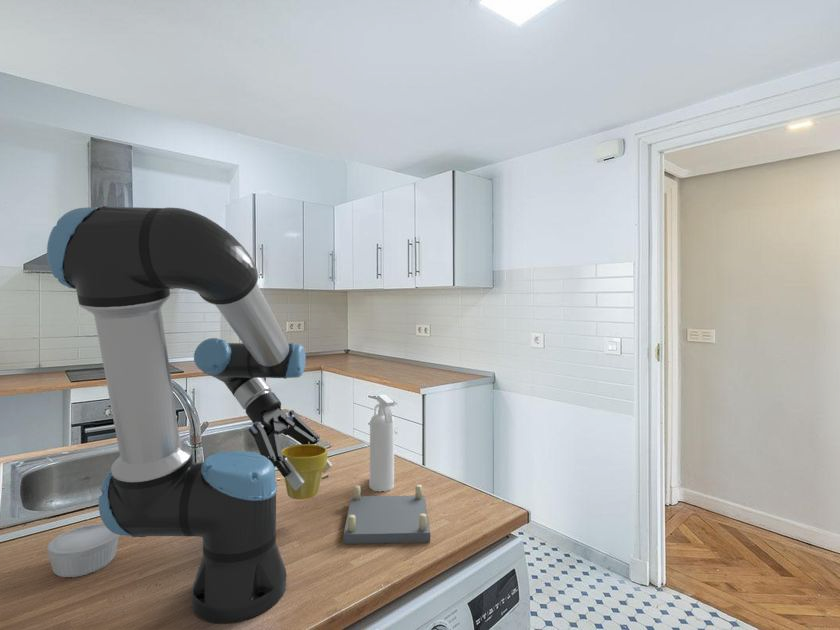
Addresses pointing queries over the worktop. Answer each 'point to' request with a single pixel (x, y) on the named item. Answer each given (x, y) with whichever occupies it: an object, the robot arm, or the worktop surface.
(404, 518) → the peg board
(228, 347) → the robot arm
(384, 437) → the white spray bottle
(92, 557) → the ramekin
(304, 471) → the plant pot
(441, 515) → the worktop surface
